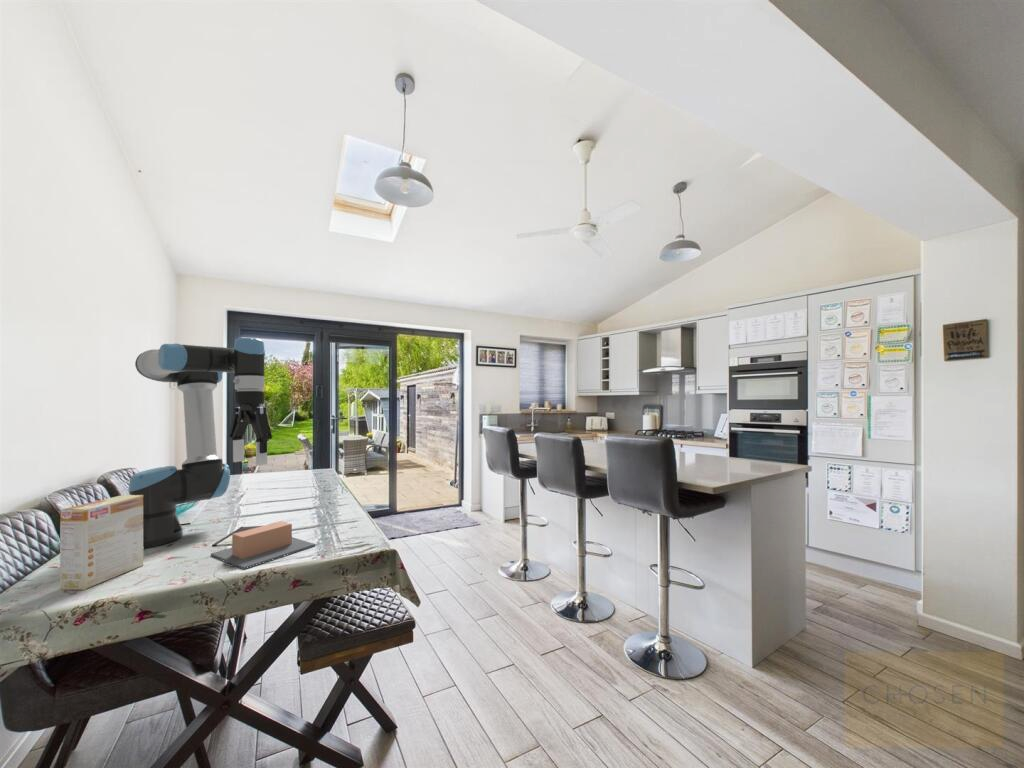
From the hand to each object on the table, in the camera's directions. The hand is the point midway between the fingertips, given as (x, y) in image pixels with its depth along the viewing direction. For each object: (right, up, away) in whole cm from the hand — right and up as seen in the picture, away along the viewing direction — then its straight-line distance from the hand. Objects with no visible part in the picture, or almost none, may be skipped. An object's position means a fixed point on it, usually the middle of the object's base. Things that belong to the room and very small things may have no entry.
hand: (249, 463), depth 121 cm
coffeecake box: (-29, -27, -14) cm, 42 cm away
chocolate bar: (-13, -28, +17) cm, 35 cm away
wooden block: (-1, -23, -4) cm, 23 cm away
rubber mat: (+3, -27, +2) cm, 27 cm away
